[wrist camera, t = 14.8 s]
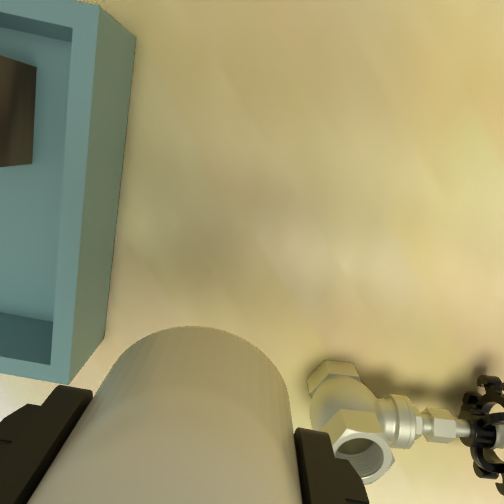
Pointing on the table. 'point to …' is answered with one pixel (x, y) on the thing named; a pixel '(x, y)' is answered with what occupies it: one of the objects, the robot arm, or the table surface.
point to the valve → (401, 422)
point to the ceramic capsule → (181, 428)
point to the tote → (62, 186)
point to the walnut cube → (16, 112)
